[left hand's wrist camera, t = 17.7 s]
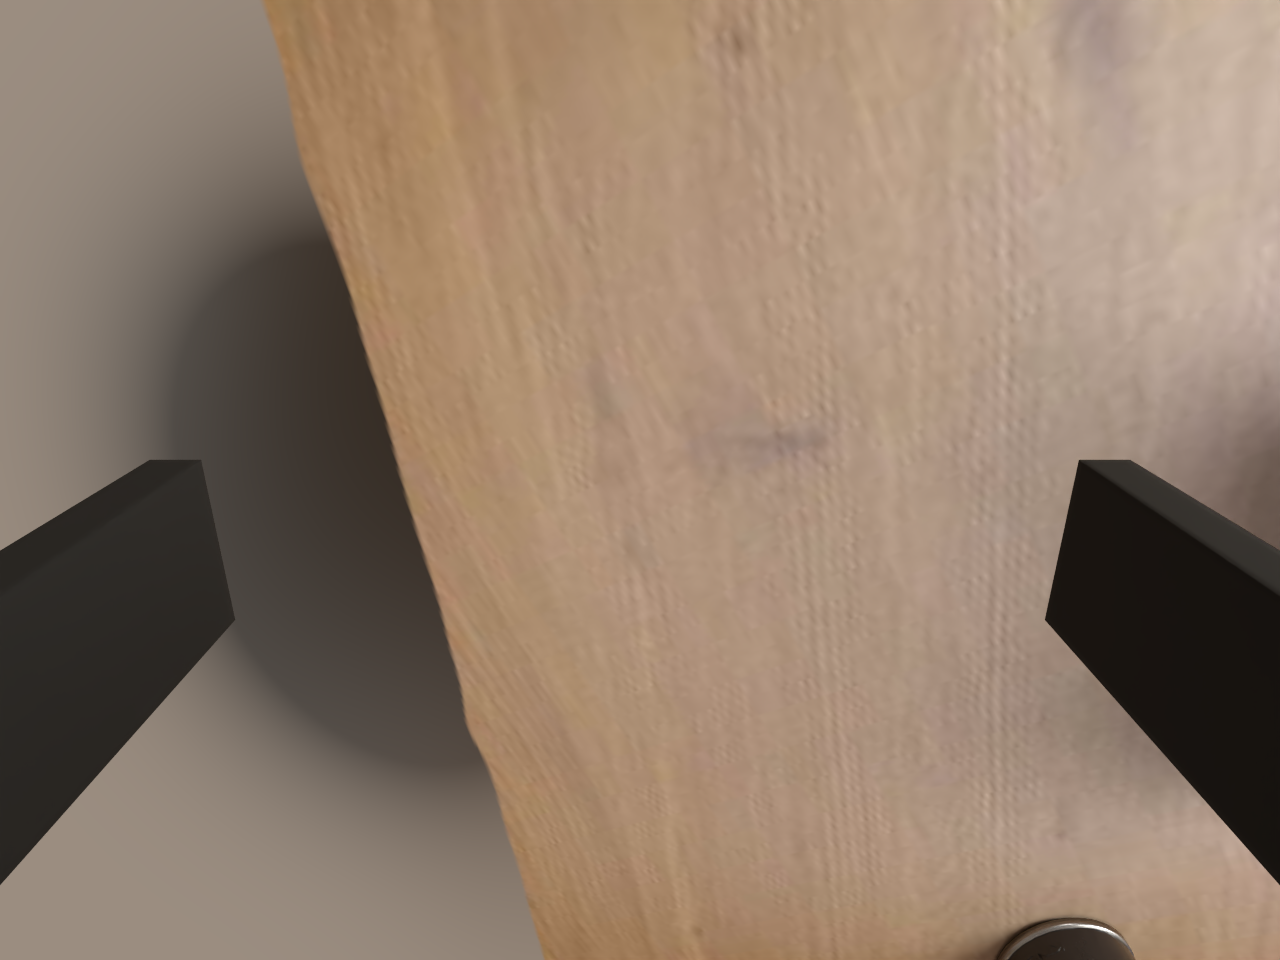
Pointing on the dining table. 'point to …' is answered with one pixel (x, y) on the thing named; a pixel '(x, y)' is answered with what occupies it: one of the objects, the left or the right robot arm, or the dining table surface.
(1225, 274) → the dining table surface
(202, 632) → the left robot arm
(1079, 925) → the right robot arm
